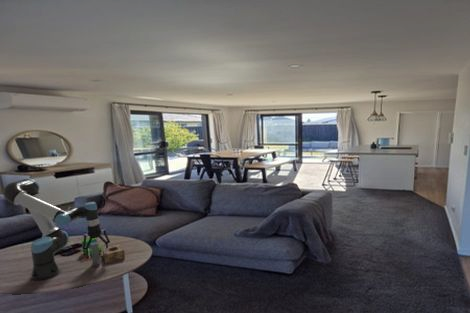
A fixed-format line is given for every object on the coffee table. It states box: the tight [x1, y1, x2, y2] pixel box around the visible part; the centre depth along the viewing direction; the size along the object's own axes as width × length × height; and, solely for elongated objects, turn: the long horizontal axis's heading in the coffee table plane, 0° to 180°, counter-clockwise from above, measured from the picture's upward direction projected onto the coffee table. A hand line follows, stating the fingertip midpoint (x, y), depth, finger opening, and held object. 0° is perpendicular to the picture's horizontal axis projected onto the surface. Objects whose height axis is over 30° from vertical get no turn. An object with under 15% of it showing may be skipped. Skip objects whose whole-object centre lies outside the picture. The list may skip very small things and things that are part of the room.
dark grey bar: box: [91, 241, 101, 267], centre depth 202 cm, size 4×4×15 cm
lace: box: [80, 254, 103, 263], centre depth 213 cm, size 17×4×1 cm, turn 130°
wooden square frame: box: [102, 243, 125, 264], centre depth 213 cm, size 13×13×6 cm
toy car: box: [81, 237, 103, 257], centre depth 220 cm, size 10×13×10 cm
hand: (98, 255), depth 203 cm, fingers open, 10 cm apart
